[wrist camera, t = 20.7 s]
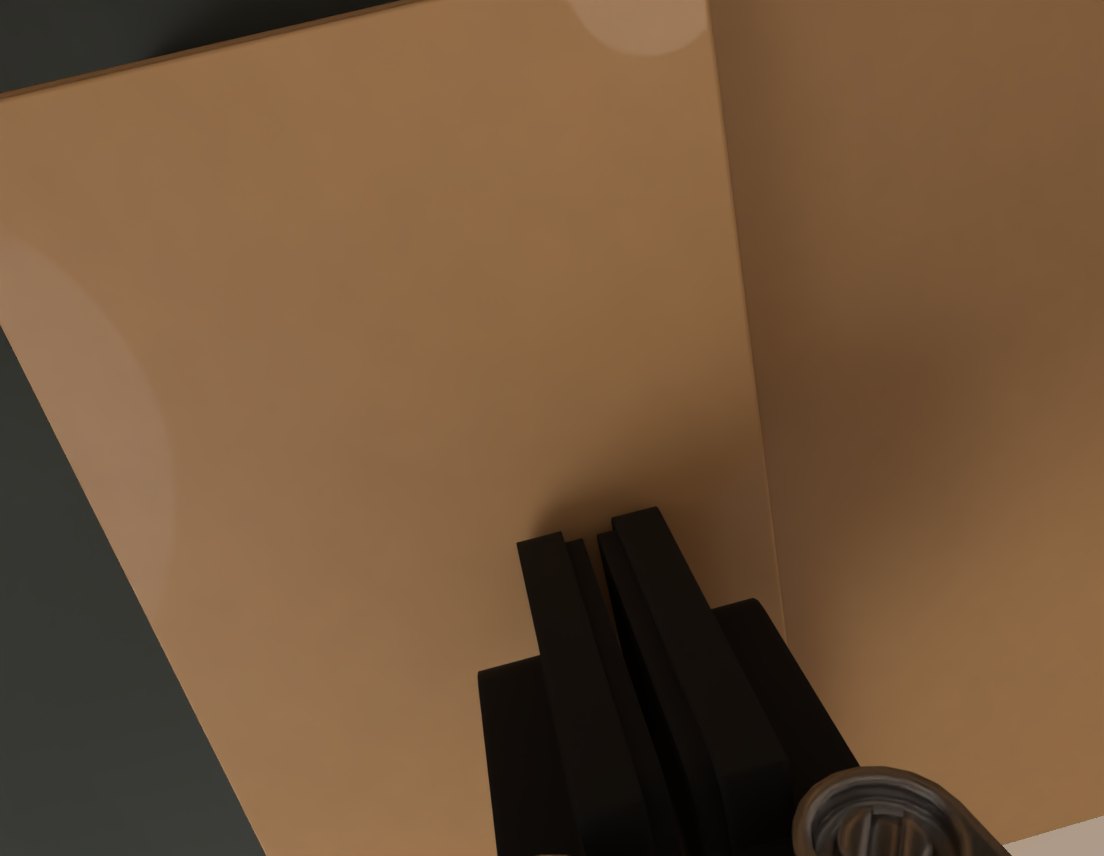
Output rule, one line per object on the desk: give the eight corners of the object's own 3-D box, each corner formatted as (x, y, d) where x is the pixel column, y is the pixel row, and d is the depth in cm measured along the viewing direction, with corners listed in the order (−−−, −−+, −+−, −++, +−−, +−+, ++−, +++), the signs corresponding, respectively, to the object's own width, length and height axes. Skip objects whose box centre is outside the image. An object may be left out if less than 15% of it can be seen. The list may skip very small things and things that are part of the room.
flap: (359, 1010, 14) (354, 1036, 14) (-77, 117, 9) (-105, 122, 8) (817, 929, 14) (825, 954, 14) (693, -64, 8) (703, -66, 8)
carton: (367, 672, 22) (353, 1038, 14) (136, 66, 16) (-113, 117, 8) (952, 513, 23) (1246, 777, 15) (940, -121, 17) (1420, -238, 9)
